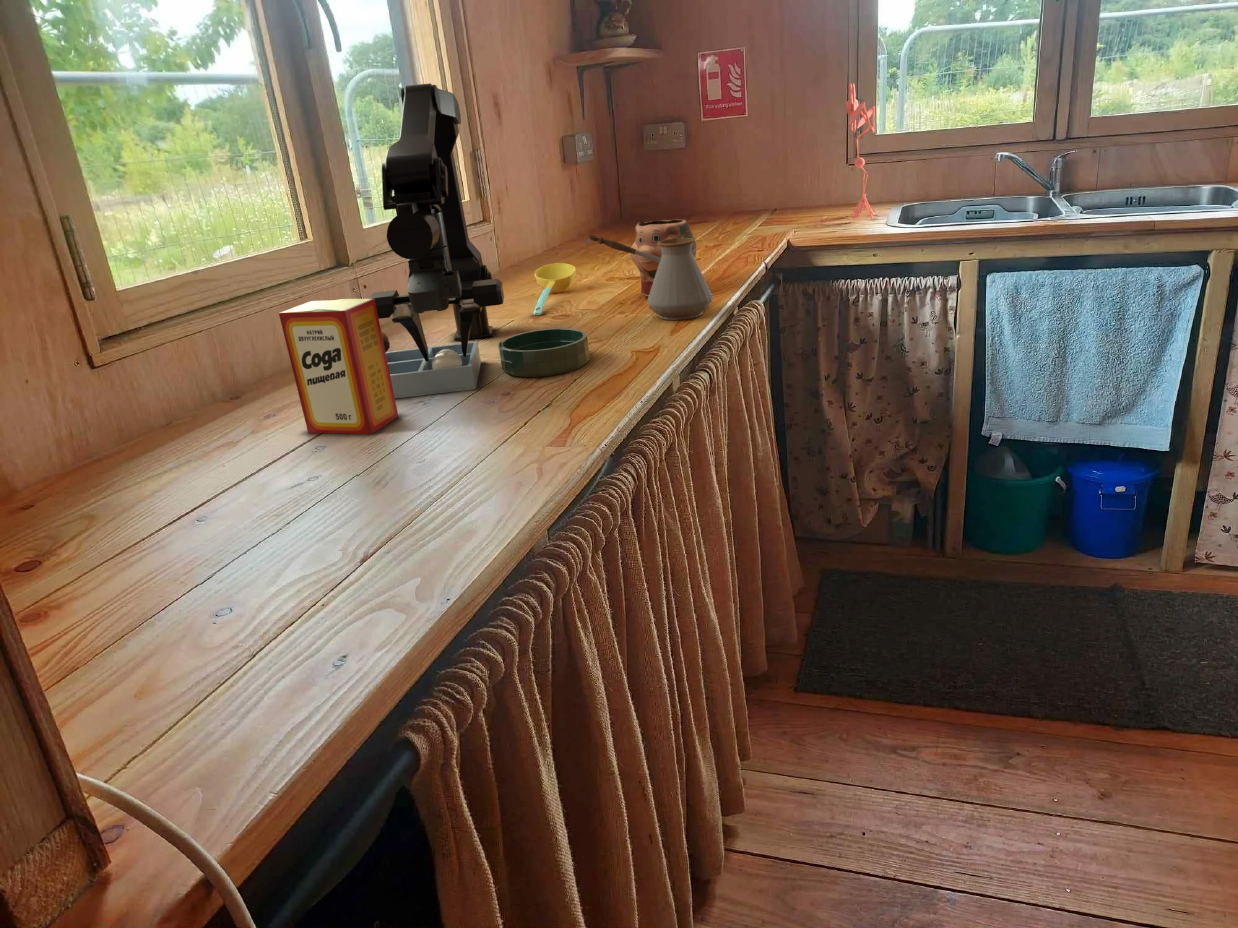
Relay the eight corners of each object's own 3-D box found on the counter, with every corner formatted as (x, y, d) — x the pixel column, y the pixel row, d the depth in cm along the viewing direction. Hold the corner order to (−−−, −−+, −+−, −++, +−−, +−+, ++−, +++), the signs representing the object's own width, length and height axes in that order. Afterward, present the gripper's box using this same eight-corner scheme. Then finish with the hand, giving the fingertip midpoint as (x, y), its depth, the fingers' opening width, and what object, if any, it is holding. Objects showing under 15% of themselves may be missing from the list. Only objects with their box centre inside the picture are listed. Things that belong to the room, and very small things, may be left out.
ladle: (580, 281, 189) (577, 256, 186) (562, 338, 167) (559, 311, 164) (540, 283, 190) (537, 258, 187) (517, 339, 169) (513, 312, 165)
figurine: (876, 211, 254) (878, 80, 240) (876, 224, 231) (878, 80, 218) (822, 214, 258) (821, 86, 245) (817, 227, 235) (815, 86, 222)
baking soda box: (308, 432, 112) (277, 310, 106) (337, 415, 118) (310, 298, 112) (371, 433, 109) (344, 307, 103) (398, 416, 115) (374, 295, 109)
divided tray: (387, 373, 136) (383, 352, 135) (481, 362, 137) (477, 341, 136) (371, 401, 123) (366, 378, 121) (475, 389, 123) (471, 365, 122)
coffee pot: (715, 305, 158) (710, 220, 152) (711, 320, 148) (706, 230, 142) (600, 313, 162) (591, 230, 156) (588, 328, 151) (578, 240, 146)
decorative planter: (653, 282, 185) (647, 215, 179) (709, 280, 181) (705, 211, 175) (623, 304, 167) (616, 229, 162) (685, 302, 163) (680, 226, 158)
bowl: (504, 359, 137) (500, 334, 136) (587, 349, 138) (584, 324, 136) (501, 382, 125) (497, 355, 124) (592, 371, 126) (589, 344, 124)
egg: (437, 375, 129) (432, 347, 127) (465, 371, 129) (460, 344, 127) (433, 385, 124) (427, 357, 122) (463, 382, 124) (457, 353, 122)
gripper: (346, 265, 111) (371, 381, 117) (492, 248, 112) (509, 365, 118) (362, 252, 122) (384, 360, 128) (495, 237, 123) (511, 345, 129)
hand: (446, 358), depth 125 cm, fingers open, 5 cm apart
